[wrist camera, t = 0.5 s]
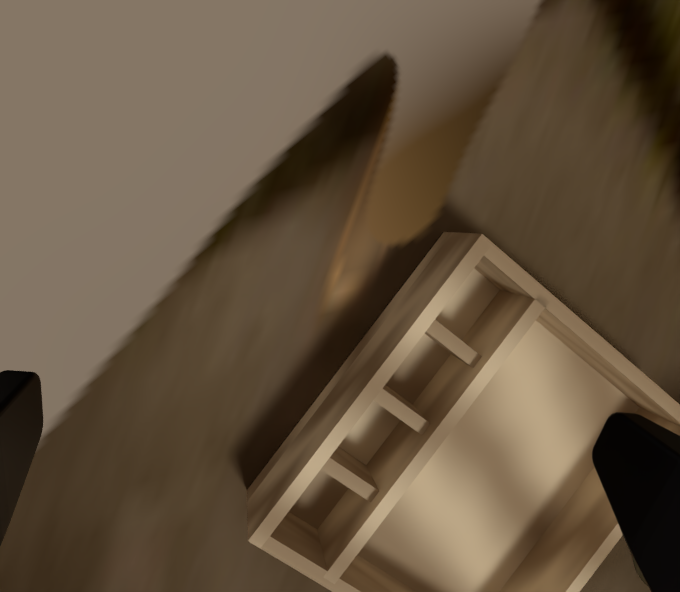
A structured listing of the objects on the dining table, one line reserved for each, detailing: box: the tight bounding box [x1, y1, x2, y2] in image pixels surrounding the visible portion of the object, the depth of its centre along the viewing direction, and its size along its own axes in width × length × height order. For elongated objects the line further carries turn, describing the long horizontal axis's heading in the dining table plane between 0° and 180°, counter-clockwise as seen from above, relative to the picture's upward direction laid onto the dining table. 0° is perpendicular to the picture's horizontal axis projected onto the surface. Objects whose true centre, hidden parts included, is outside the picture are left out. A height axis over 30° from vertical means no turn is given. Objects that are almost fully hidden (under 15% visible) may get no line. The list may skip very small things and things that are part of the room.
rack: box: [247, 232, 680, 592], centre depth 24 cm, size 15×14×4 cm
